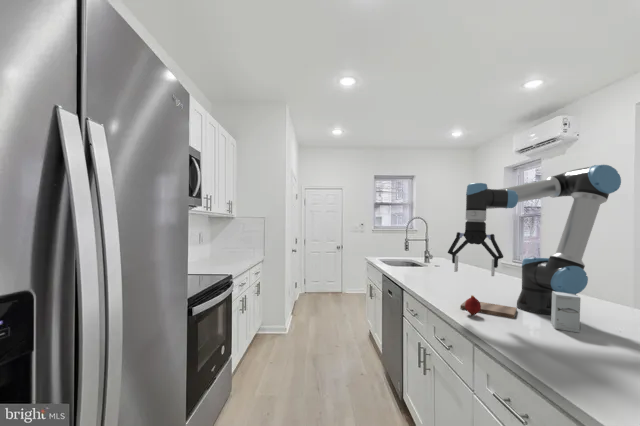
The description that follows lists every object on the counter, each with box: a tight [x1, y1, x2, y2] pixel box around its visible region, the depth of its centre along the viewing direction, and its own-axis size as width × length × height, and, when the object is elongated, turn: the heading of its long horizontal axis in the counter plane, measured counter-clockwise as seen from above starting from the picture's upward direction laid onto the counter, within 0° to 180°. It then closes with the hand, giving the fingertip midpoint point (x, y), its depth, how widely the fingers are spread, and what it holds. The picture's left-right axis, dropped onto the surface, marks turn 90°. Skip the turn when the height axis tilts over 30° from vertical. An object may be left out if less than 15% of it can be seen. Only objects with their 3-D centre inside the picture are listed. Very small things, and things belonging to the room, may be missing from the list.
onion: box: [464, 294, 481, 316], centre depth 129 cm, size 6×6×8 cm
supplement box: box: [550, 291, 581, 334], centre depth 117 cm, size 7×7×13 cm
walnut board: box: [459, 299, 518, 319], centre depth 138 cm, size 20×14×2 cm
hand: (473, 273), depth 129 cm, fingers open, 13 cm apart
